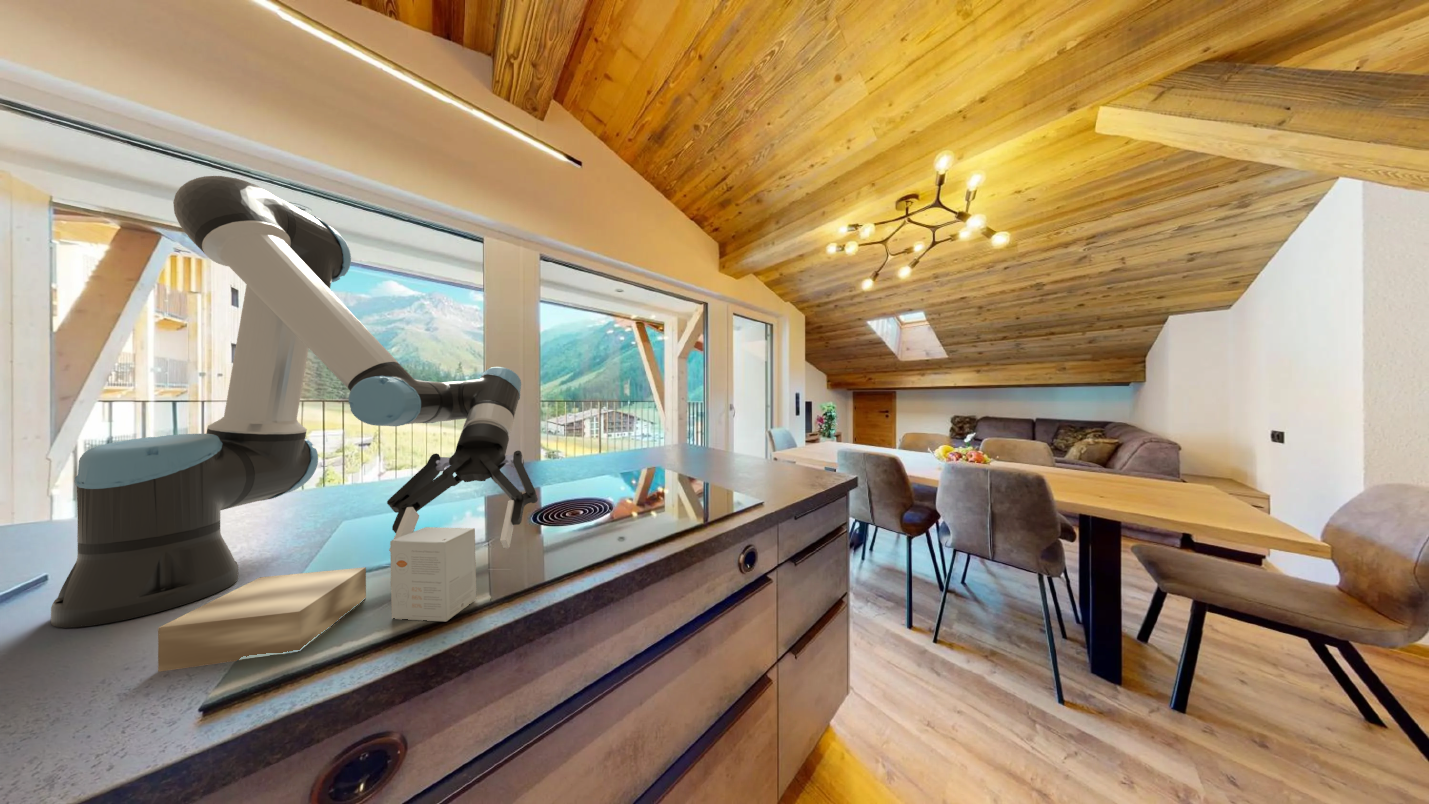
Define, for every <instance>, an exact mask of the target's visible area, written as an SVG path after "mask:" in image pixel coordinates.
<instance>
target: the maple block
mask: <svg viewBox="0 0 1429 804" xmlns="http://www.w3.org/2000/svg"><path fill="white" fill-rule="evenodd" d="M366 571H367V567H364V566H363V567H353V568H345V569H343V568H342V569H335V570H334V569H333V570H324V571H321V570H320V571H311V572H302V573H300V572H299V573H292V574H281V575H280V574H279V575H270V576H260V577H258V578H256V579H254V580H252V581H250V582H248V583H245V584H244V585H241V586H240V587H238V588H236V589H234V590H232V591H230V592H228V593H226V594H223V595H221V596H219V597H218V598H216V599H214V600H211V601H210V602H207V603H205V604H203V605H202V606H201V605H200V606H198V607H197V608H194V609H193V610H191V611H189V612H187V613H185V614H183V615H181V616H178V617H177V618H175V619H173V620H171V621H169V622H167V623H165V624H163V625H160V626H159V627H158V629H157V634H158V635H157V636H158V639H157V642H158V643H157V646H158V647H157V648H158V649H157V650H158V651H157V655H158V657H157V672H166V671H167V672H168V671H171V670H180V669H188V668H189V669H190V668H196V667H201V666H209V665H216V664H217V665H218V664H223V663H224V664H225V663H230V662H231V663H232V662H237V660H239V659H240V658H241V657H243V656H246V657H247V656H249V655H257V654H266V653H283V652H287V651H288V652H289V651H293V650H300V649H301V648H302V647H303V646H304V645H306V644H307V643H308V642H309V641H311V640H312V639H313V638H314V637H316V636H317V635H318V634H321V632H323V631H324V630H326V629H327V628H328V627H330V626H331V625H332V624H334V623H335V622H336V621H337V620H339V618H340V617H341V616H343V615H344V614H345V613H347V612H348V611H350V610H351V609H352V608H353V607H354V606H356V605H357V604H359V603H360V602H361V601H362V600H363V599H364V598H366V599H367V572H366ZM359 605H360V604H359ZM339 621H340V620H339ZM334 625H335V624H334ZM330 628H331V627H330ZM239 661H240V660H239Z"/></svg>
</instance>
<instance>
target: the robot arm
mask: <svg viewBox="0 0 1429 804" xmlns="http://www.w3.org/2000/svg"><path fill="white" fill-rule="evenodd" d="M173 212H174V215H175V217H176V220H177V222H178V224H179V226H180V227H181V229H182V230H183V232H184V233H185V234H186V235H187V237H188V238H189V239H190V240H191V241H192V242H193V244H195V245H196V247H197V248H199V250H200V251H201V252H202V253H203V254H204V255H205V256H206V257H207V258H209V259H210V260H211V261H213V262H214V263H217V264H218V265H221V266H224V267H228V268H230V269H231V270H232V271H233V272H234V273H235V275H237V277H239V278H240V280H242V282H244V284H246V285H245V293H244V298H243V302H242V309H241V313H240V314H241V315H240V320H239V327H238V333H237V338H236V344H235V345H236V346H235V349H234V355H233V361H232V366H231V367H232V368H231V374H230V378H229V379H230V380H229V385H228V390H227V398H226V402H225V409H224V414H223V416H222V417H221V418H220V419H218V420H217V421H214V422H212V423H210V424H209V425H207V429H206V433H182V434H168V435H160V436H149V437H147V436H146V437H141V438H140V437H139V438H132V439H125V440H120V441H113V442H109V443H105V444H100V445H98V446H94V447H92V448H89V449H88V450H87V451H85V452H84V453H82V454H81V456H80V458H79V460H78V468H77V475H76V476H75V478H74V484H75V486H76V506H77V507H76V511H77V533H76V534H77V536H76V537H77V541H76V542H77V558H76V561H75V564H73V566H72V568H71V570H70V572H69V574H68V576H67V577H66V579H65V581H64V582H63V585H62V586H61V589H60V591H59V593H58V596H57V597H56V599H55V600H53V603H52V605H51V607H50V625H52V626H53V627H55V628H56V627H57V628H80V627H81V628H83V627H90V626H97V625H98V626H99V625H104V624H111V623H115V622H121V621H126V620H130V619H135V618H139V617H143V616H148V615H152V614H156V613H159V612H160V613H161V612H163V611H166V610H170V609H173V608H177V607H181V606H183V605H187V604H190V603H193V602H196V601H198V600H202V599H204V598H207V597H209V596H212V595H214V594H216V593H219V592H221V591H223V590H226V589H227V588H229V587H231V586H233V585H234V584H235V583H236V582H238V580H239V563H238V562H237V561H236V560H235V558H234V556H233V554H232V552H231V550H230V549H229V547H228V545H227V543H226V541H225V539H224V537H223V536H222V533H221V511H223V510H224V511H225V510H227V509H231V508H232V509H233V508H235V507H239V506H245V505H247V504H252V503H256V502H262V501H267V500H272V499H273V500H274V499H276V498H278V497H281V496H283V495H285V494H288V493H291V492H293V491H296V490H297V489H299V488H302V486H304V485H305V484H306V483H308V482H309V481H310V479H311V478H312V477H313V475H314V474H315V472H316V470H317V467H318V464H319V454H318V451H317V448H315V447H314V446H313V445H314V444H313V442H311V441H310V439H307V438H306V435H307V430H308V429H307V428H306V427H305V426H304V425H302V424H301V423H300V422H299V421H298V415H299V408H300V407H299V406H300V402H301V396H302V390H303V389H302V388H303V383H304V379H305V378H304V377H305V371H306V366H307V360H308V354H309V350H310V351H311V353H313V354H314V355H315V357H317V358H318V360H320V362H321V363H322V364H323V365H324V366H326V368H327V369H328V370H329V371H330V372H331V373H333V375H334V376H335V377H336V378H337V379H338V380H339V381H340V382H341V383H342V384H343V385H344V386H345V387H346V388H347V389H348V391H349V395H348V398H347V399H348V403H349V407H350V412H351V413H352V414H353V416H354V417H355V418H356V419H358V421H360V422H362V423H364V424H367V425H371V426H375V427H376V426H378V427H381V426H383V427H400V426H405V425H410V424H411V425H412V424H435V423H439V422H448V421H449V422H450V421H458V420H464V424H463V426H462V430H461V433H460V436H459V438H458V442H457V444H456V447H455V452H454V453H453V455H451V456H449V457H448V456H447V457H445V456H440V454H439V453H433V454H431V456H430V457H429V459H428V460H427V463H426V464H425V465H424V466H423V467H422V468H420V470H418V472H416V474H414V475H413V476H412V477H410V479H409V480H407V482H406V483H405V484H404V485H402V487H400V488H399V489H398V490H397V491H395V493H394V494H393V495H392V496H391V497H390V498H389V499H387V501H386V504H387V505H388V506H389V507H390V509H391V510H392V511H393V512H394V513H397V515H396V516H395V517H396V518H395V520H394V521H393V524H392V526H391V527H392V531H393V533H395V535H394V537H393V540H394V539H396V538H399V537H401V536H404V535H407V534H409V533H412V532H414V531H415V528H416V527H417V524H418V521H419V519H420V515H419V513H418V512H419V511H420V510H421V509H422V508H424V507H426V506H427V505H428V504H429V503H431V502H432V501H433V500H435V499H436V498H438V497H439V496H440V495H441V494H443V493H444V492H446V491H447V490H449V489H450V488H451V487H455V486H457V485H458V484H461V482H462V481H464V483H470V482H474V481H476V482H486V480H489V479H491V480H492V481H493V482H494V483H495V484H496V485H497V486H498V487H499V488H500V489H501V490H502V491H503V492H504V494H506V495H507V497H509V498H510V499H509V500H508V501H507V505H506V510H505V514H504V520H503V525H502V529H501V534H500V539H499V541H500V544H501V546H502V548H503V549H510V548H511V547H510V546H511V542H512V538H513V531H514V526H516V525H520V524H521V523H522V520H523V515H524V509H525V506H527V505H528V504H535V503H537V502H538V500H539V498H538V494H537V492H536V489H535V488H534V485H533V483H532V481H531V479H530V476H529V475H528V473H527V470H526V468H525V466H524V465H525V461H524V457H523V454H522V451H521V450H515V451H514V452H513V454H508V455H506V453H507V450H508V444H509V440H510V436H511V431H512V428H513V424H514V422H515V421H514V419H515V414H516V410H517V406H518V404H519V400H520V398H521V390H522V389H521V388H522V381H521V378H520V376H519V375H518V374H517V373H516V372H515V371H514V370H512V369H510V368H507V367H505V366H504V367H503V366H493V367H490V368H488V369H486V370H484V371H483V373H482V374H481V375H480V377H479V379H468V380H461V381H443V382H442V381H441V382H440V381H428V380H422V379H421V380H420V379H415V378H414V377H412V376H411V374H410V373H409V372H408V371H407V370H406V369H405V368H404V367H403V366H402V365H401V364H400V363H399V362H398V361H397V359H396V358H395V357H393V355H392V354H391V353H390V352H389V351H388V350H387V349H386V347H384V346H383V344H381V343H380V341H379V340H378V339H377V338H376V337H375V335H373V334H372V333H371V332H370V331H369V330H368V329H367V327H365V325H364V324H363V323H362V322H361V321H360V320H359V319H358V318H357V317H356V316H355V315H354V314H353V313H352V312H351V311H350V310H349V308H348V307H347V306H346V305H345V304H344V303H343V302H342V301H341V300H340V299H339V297H338V296H336V295H335V293H334V292H333V291H331V286H332V283H335V282H338V281H339V280H341V277H345V276H346V275H347V273H348V272H349V270H350V267H351V264H352V254H351V250H350V247H349V245H348V243H347V241H346V240H345V238H343V236H342V235H341V234H340V233H339V232H338V231H337V230H336V229H335V228H333V227H332V226H330V225H328V223H326V222H325V221H323V220H322V219H321V218H319V217H317V216H315V215H314V214H311V213H308V212H306V211H304V210H302V209H300V208H299V207H297V206H295V205H293V204H291V203H289V202H288V201H286V200H284V199H282V198H280V197H278V196H276V195H274V194H272V193H271V192H270V191H268V190H267V189H264V188H262V187H260V186H258V185H256V184H254V183H251V182H248V181H246V180H243V179H240V178H236V177H232V176H231V177H230V176H225V175H224V176H223V175H206V176H205V175H204V176H201V177H196V178H194V179H191V180H188V181H187V182H185V183H184V184H183V185H181V186H180V187H179V188H178V190H176V193H175V195H174V198H173ZM506 464H509V466H510V467H511V468H514V469H515V472H516V475H517V477H518V478H519V481H520V482H521V485H522V487H523V489H524V492H525V493H523V492H522V491H520V490H519V489H518V488H517V487H516V486H515V485H514V483H512V482H511V480H509V479H508V477H507V476H506V475H505V474H504V473H503V472H502V471H501V469H502V468H503V467H505V465H506ZM440 472H442V473H441V474H440ZM454 474H456V475H454ZM438 475H439V476H438ZM388 551H389V552H390V548H389V549H388Z"/></svg>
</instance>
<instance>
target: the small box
mask: <svg viewBox="0 0 1429 804" xmlns="http://www.w3.org/2000/svg"><path fill="white" fill-rule="evenodd" d="M389 545H390V546H389V549H390V551H389V553H390V597H391V598H390V601H391V603H390V604H391V607H390V608H391V609H390V610H391V613H390V614H391V619H392V620H402V619H408V620H409V621H423V620H427V621H428V622H448V621H449V620H450V619H452V618H453V617H454V616H456V615H458V614H459V613H460V612H461V611H463V610H464V609H465V608H467V607H468V606H470V605H471V604H472V603H474V602H475V601H476V600H477V571H476V570H477V569H476V568H477V567H476V566H477V565H476V563H477V562H476V528H475V527H474V528H473V527H438V526H437V527H435V526H434V527H430V526H425V527H422V528H420V529H418V530H414V532H412V533H409V534H407V535H404V536H401V537H399V538H396V539H394V538H393V539H391V540H390V543H389ZM469 604H470V605H469ZM393 618H395V619H393ZM427 621H426V622H427Z"/></svg>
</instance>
